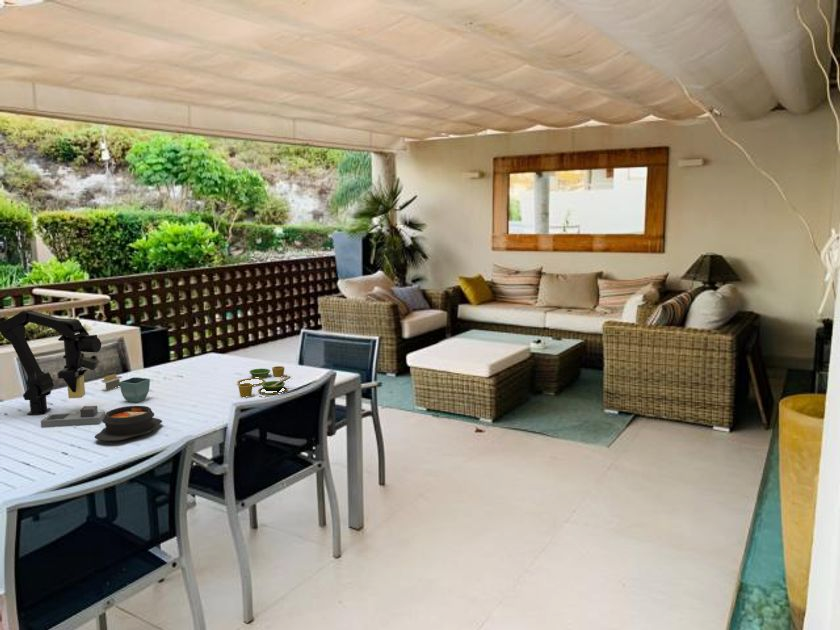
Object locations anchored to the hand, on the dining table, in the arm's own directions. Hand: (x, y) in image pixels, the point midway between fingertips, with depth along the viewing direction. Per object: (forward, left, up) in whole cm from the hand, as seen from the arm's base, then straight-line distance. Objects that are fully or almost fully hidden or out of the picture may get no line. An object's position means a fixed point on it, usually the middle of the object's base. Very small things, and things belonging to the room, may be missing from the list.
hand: (76, 390), depth 245 cm
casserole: (+28, +26, -10) cm, 39 cm away
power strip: (+11, +2, -10) cm, 15 cm away
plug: (0, 0, -2) cm, 2 cm away
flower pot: (-15, +18, -10) cm, 25 cm away
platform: (-37, +2, -10) cm, 38 cm away
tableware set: (-30, +70, -10) cm, 77 cm away
